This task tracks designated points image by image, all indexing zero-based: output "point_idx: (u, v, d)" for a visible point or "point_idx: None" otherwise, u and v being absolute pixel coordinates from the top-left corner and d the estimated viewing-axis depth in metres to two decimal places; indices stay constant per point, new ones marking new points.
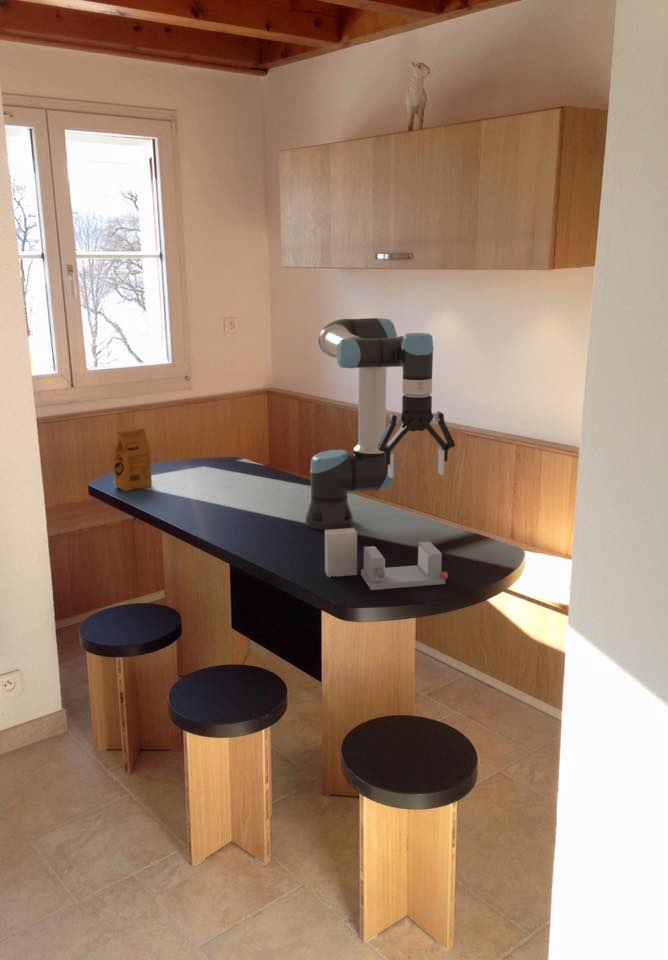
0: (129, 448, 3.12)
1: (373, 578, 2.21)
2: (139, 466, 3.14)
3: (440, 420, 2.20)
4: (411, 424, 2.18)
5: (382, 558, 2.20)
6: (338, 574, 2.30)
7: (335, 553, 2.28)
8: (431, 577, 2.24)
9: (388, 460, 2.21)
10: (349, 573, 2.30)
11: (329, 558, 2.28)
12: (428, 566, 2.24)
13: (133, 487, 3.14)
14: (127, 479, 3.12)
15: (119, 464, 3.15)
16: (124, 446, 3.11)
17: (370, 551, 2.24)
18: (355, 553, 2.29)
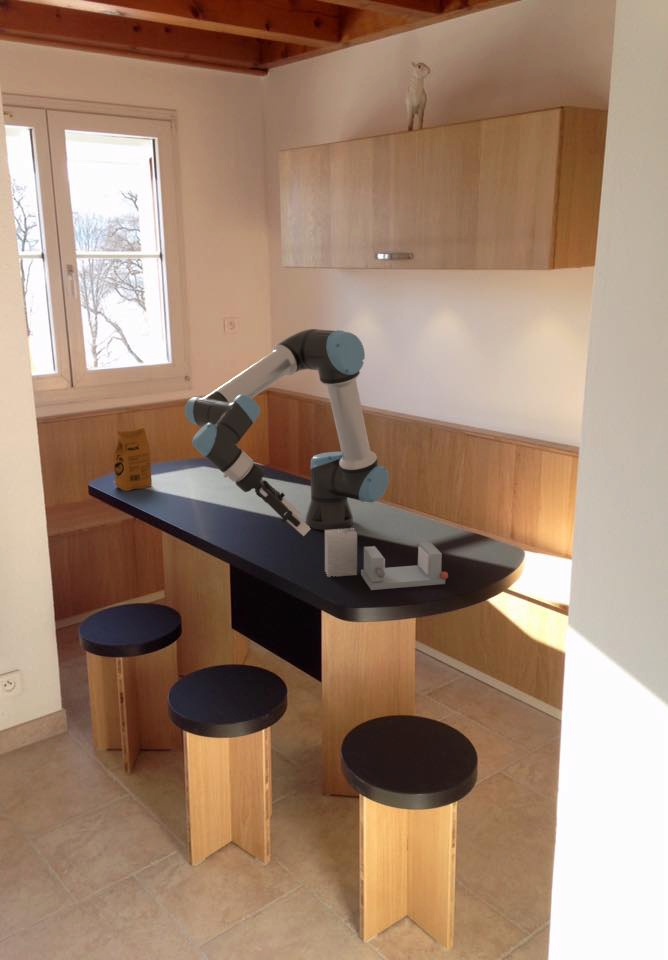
0: (129, 448, 3.12)
1: (373, 578, 2.21)
2: (139, 466, 3.14)
3: None
4: None
5: (382, 558, 2.20)
6: (338, 574, 2.30)
7: (335, 553, 2.28)
8: (431, 577, 2.24)
9: None
10: (349, 573, 2.30)
11: (329, 558, 2.28)
12: (428, 566, 2.24)
13: (133, 487, 3.14)
14: (127, 479, 3.12)
15: (119, 464, 3.15)
16: (124, 446, 3.11)
17: (370, 551, 2.24)
18: (355, 553, 2.29)
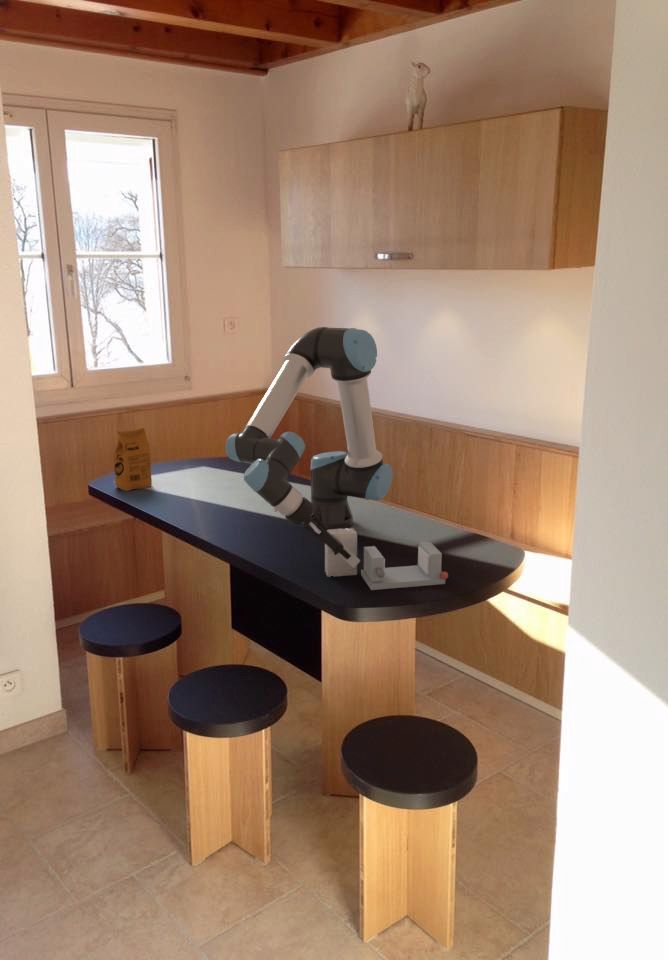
0: (129, 448, 3.12)
1: (373, 578, 2.21)
2: (139, 466, 3.14)
3: None
4: None
5: (382, 558, 2.20)
6: (338, 574, 2.30)
7: None
8: (431, 577, 2.24)
9: None
10: (349, 572, 2.30)
11: (329, 558, 2.28)
12: (428, 566, 2.24)
13: (133, 487, 3.14)
14: (127, 479, 3.12)
15: (119, 464, 3.15)
16: (124, 446, 3.11)
17: (370, 551, 2.24)
18: (355, 553, 2.29)
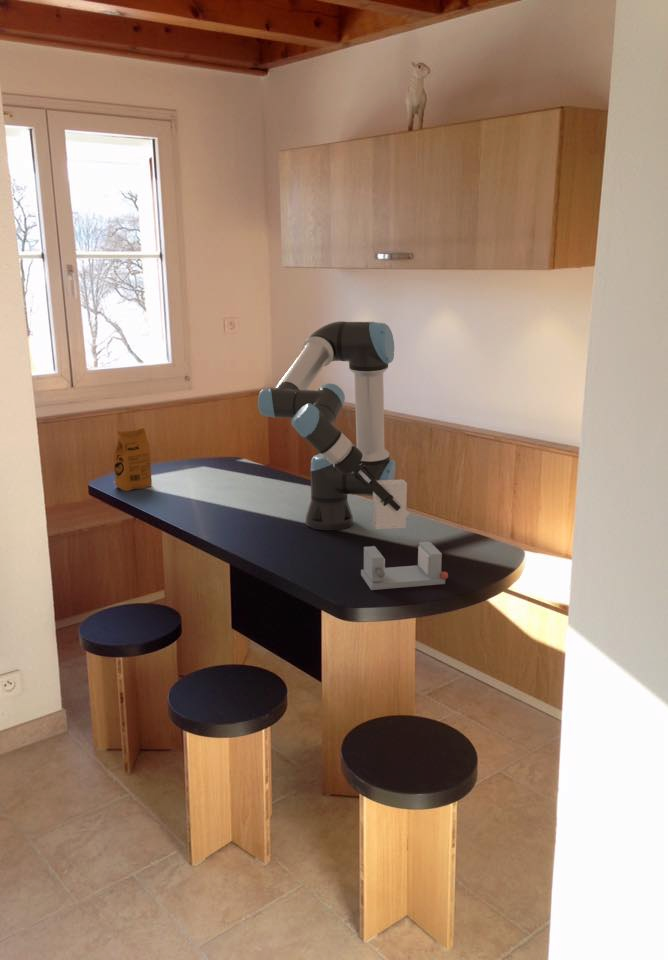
0: (129, 448, 3.12)
1: (373, 578, 2.21)
2: (139, 466, 3.14)
3: None
4: None
5: (382, 558, 2.20)
6: (386, 526, 2.22)
7: None
8: (431, 577, 2.24)
9: None
10: (397, 525, 2.22)
11: (377, 509, 2.20)
12: (428, 566, 2.24)
13: (133, 487, 3.14)
14: (127, 479, 3.12)
15: (119, 464, 3.15)
16: (124, 446, 3.11)
17: (370, 551, 2.24)
18: (404, 505, 2.21)
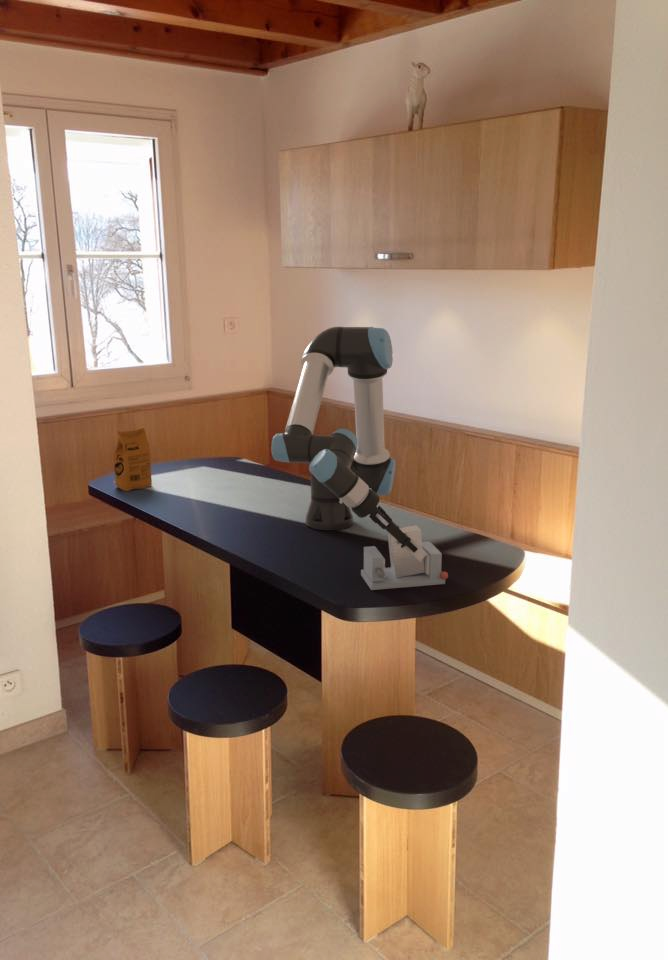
0: (129, 448, 3.12)
1: (373, 578, 2.21)
2: (139, 466, 3.14)
3: None
4: None
5: (382, 558, 2.20)
6: (406, 574, 2.25)
7: (401, 553, 2.23)
8: (431, 577, 2.24)
9: None
10: (416, 571, 2.25)
11: (395, 558, 2.23)
12: (428, 566, 2.24)
13: (133, 487, 3.14)
14: (127, 479, 3.12)
15: (119, 464, 3.15)
16: (124, 446, 3.11)
17: (370, 551, 2.24)
18: None
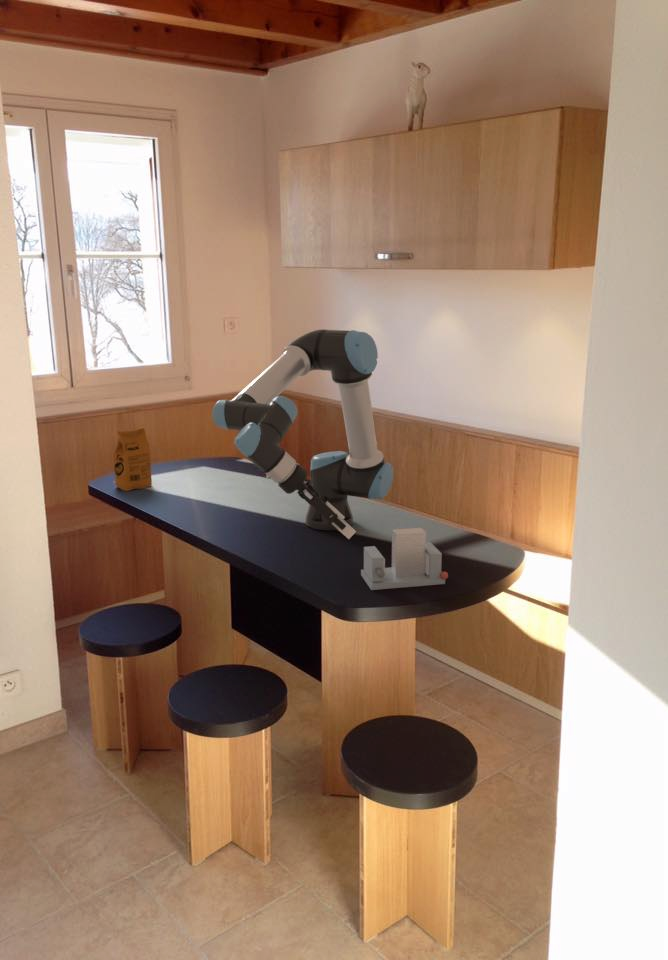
0: (129, 448, 3.12)
1: (373, 578, 2.21)
2: (139, 466, 3.14)
3: None
4: None
5: (382, 558, 2.20)
6: (406, 575, 2.25)
7: (404, 553, 2.23)
8: (431, 577, 2.24)
9: None
10: (416, 573, 2.26)
11: (397, 558, 2.23)
12: (428, 566, 2.24)
13: (133, 487, 3.14)
14: (127, 479, 3.12)
15: (119, 464, 3.15)
16: (124, 446, 3.11)
17: (370, 551, 2.24)
18: (423, 553, 2.25)
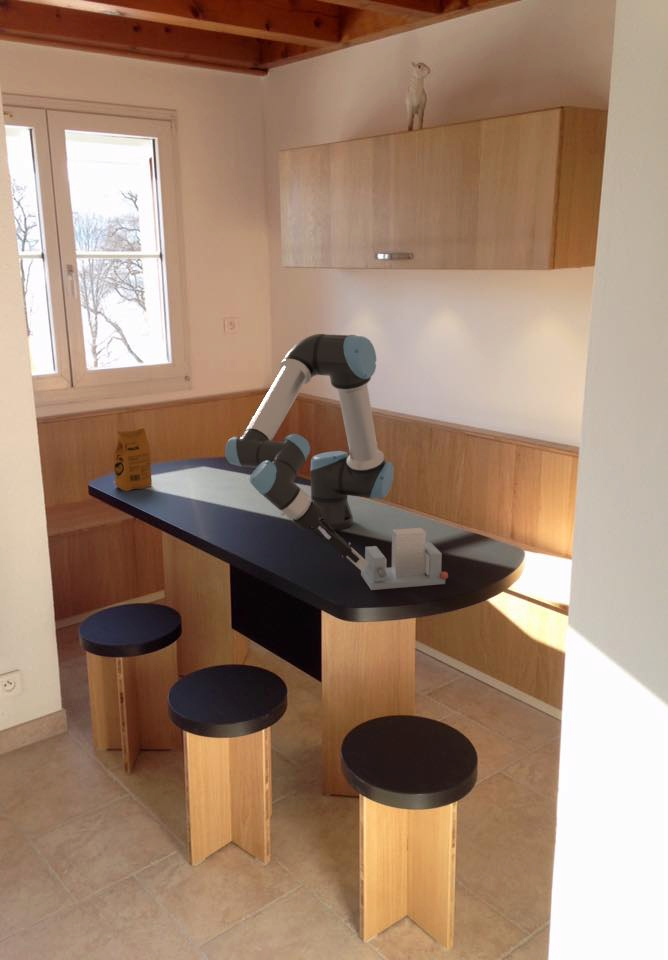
0: (129, 448, 3.12)
1: (374, 578, 2.21)
2: (139, 466, 3.14)
3: None
4: None
5: (383, 558, 2.20)
6: (406, 575, 2.25)
7: (404, 553, 2.23)
8: (431, 577, 2.24)
9: None
10: (416, 573, 2.26)
11: (397, 558, 2.23)
12: (428, 566, 2.24)
13: (133, 487, 3.14)
14: (127, 479, 3.12)
15: (119, 464, 3.15)
16: (124, 446, 3.11)
17: (372, 551, 2.24)
18: (423, 553, 2.25)
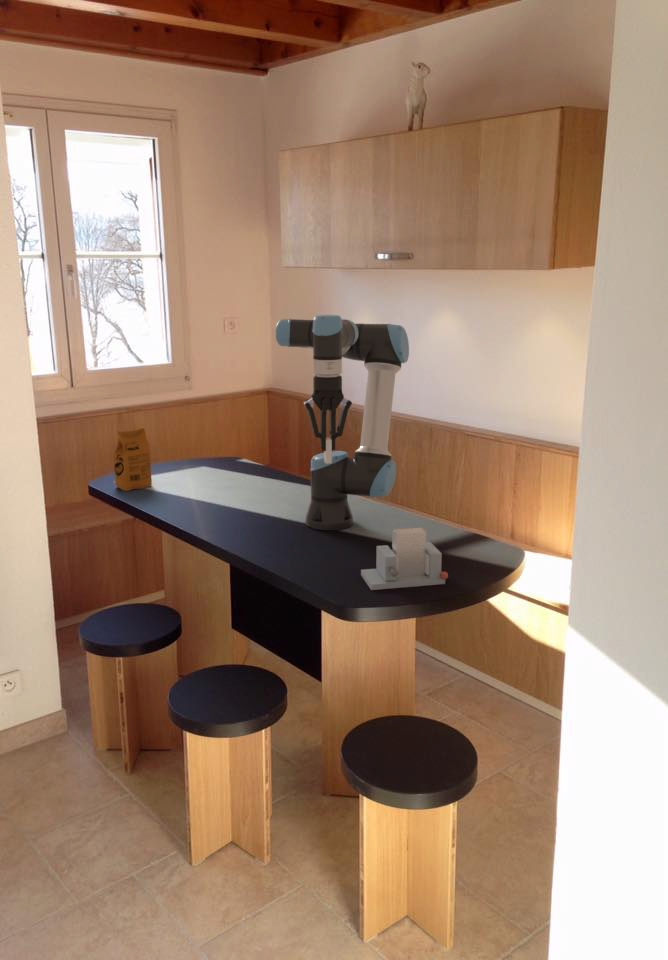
0: (129, 448, 3.12)
1: (386, 577, 2.22)
2: (139, 466, 3.14)
3: (345, 406, 2.27)
4: (324, 404, 2.25)
5: (395, 557, 2.21)
6: (406, 575, 2.25)
7: (404, 553, 2.23)
8: (431, 577, 2.24)
9: (324, 446, 2.29)
10: (417, 573, 2.26)
11: None
12: (428, 566, 2.24)
13: (133, 487, 3.14)
14: (127, 479, 3.12)
15: (119, 464, 3.15)
16: (124, 446, 3.11)
17: (383, 550, 2.25)
18: (424, 553, 2.25)
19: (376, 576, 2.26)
